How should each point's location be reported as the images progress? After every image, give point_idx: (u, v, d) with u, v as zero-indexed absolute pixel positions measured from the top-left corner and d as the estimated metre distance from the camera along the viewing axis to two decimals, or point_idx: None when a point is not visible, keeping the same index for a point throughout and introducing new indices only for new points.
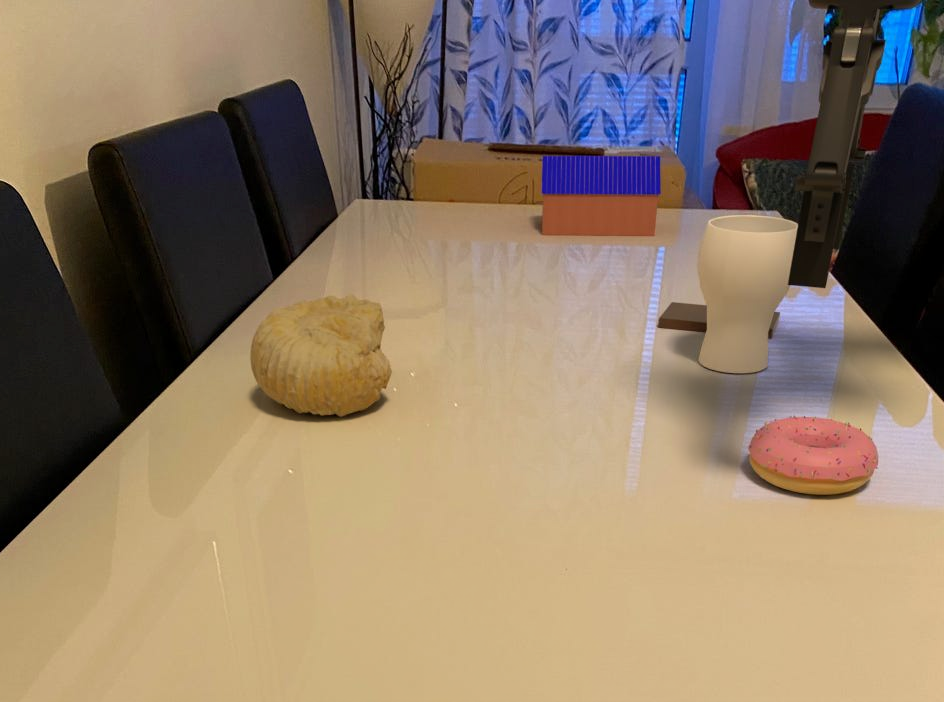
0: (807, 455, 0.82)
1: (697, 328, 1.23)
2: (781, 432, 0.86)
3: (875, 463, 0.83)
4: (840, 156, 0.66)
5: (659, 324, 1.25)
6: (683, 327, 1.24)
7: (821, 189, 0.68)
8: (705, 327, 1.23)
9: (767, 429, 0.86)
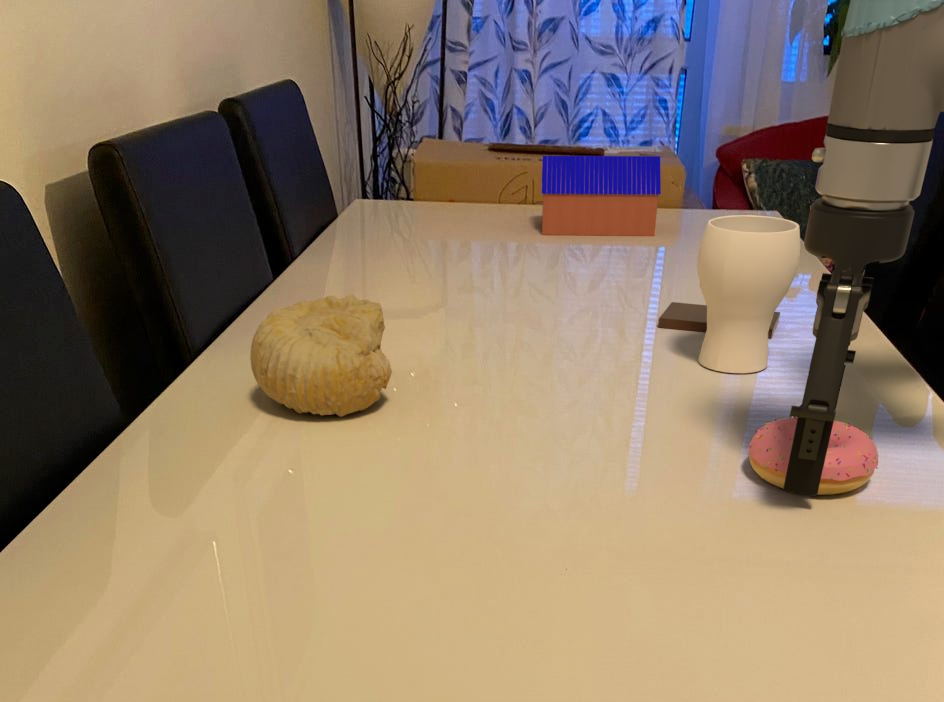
0: None
1: (697, 328, 1.23)
2: (781, 432, 0.86)
3: (875, 463, 0.83)
4: (831, 396, 0.74)
5: (659, 324, 1.25)
6: (683, 327, 1.24)
7: (814, 419, 0.76)
8: (705, 327, 1.23)
9: (767, 429, 0.86)
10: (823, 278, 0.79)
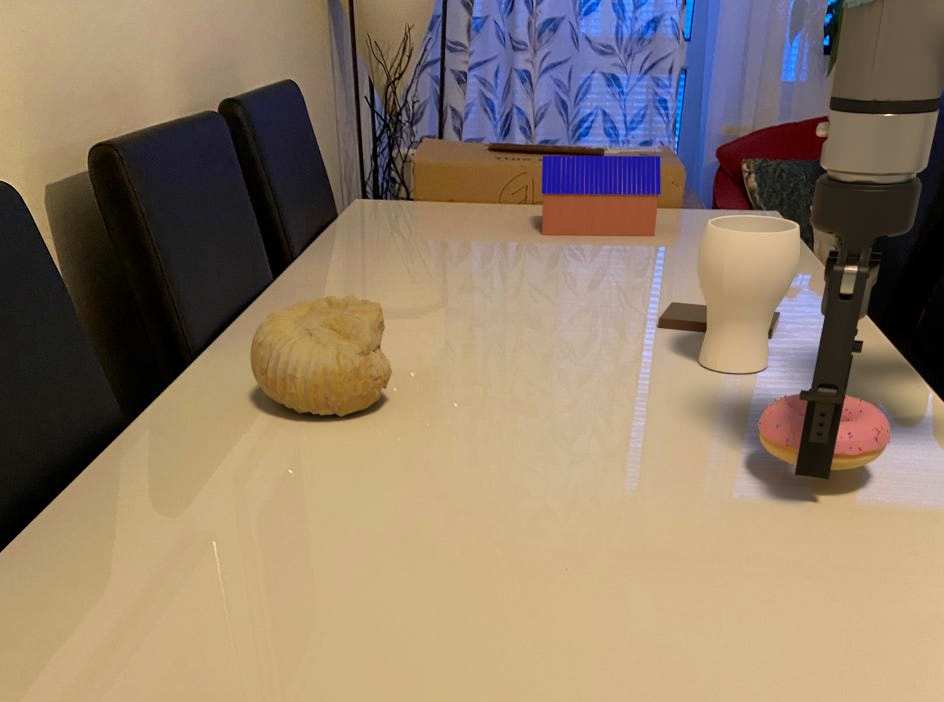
0: None
1: (697, 328, 1.23)
2: (791, 408, 0.85)
3: (887, 437, 0.82)
4: (840, 379, 0.74)
5: (659, 324, 1.25)
6: (683, 327, 1.24)
7: (823, 402, 0.76)
8: (705, 327, 1.23)
9: (777, 405, 0.85)
10: (830, 254, 0.78)
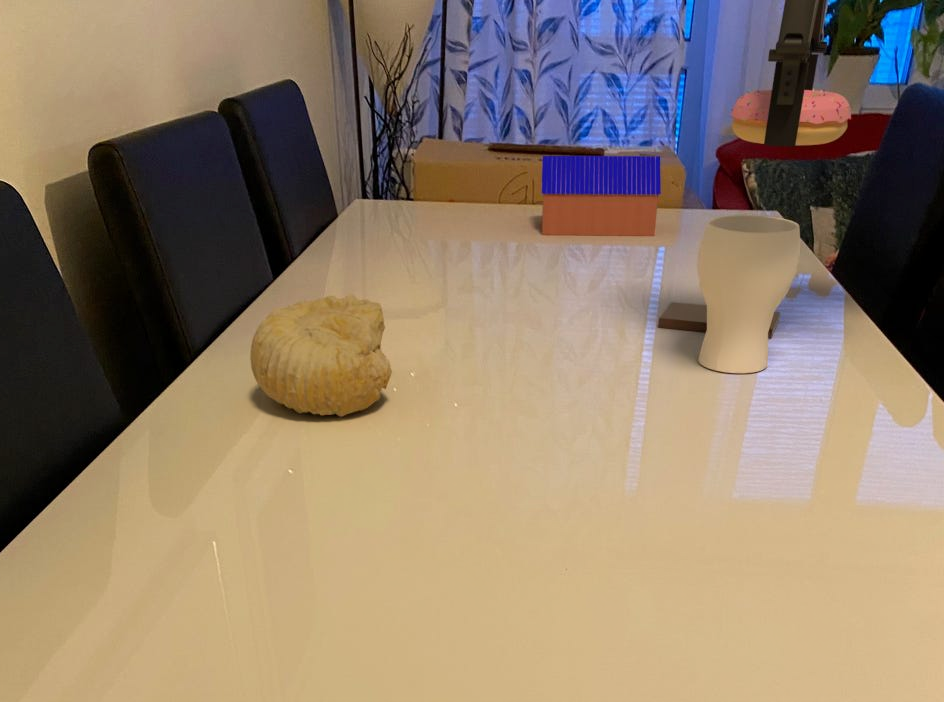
0: None
1: (697, 328, 1.23)
2: (761, 94, 0.92)
3: (848, 113, 0.90)
4: (804, 28, 0.82)
5: (659, 324, 1.25)
6: (683, 327, 1.24)
7: (790, 58, 0.84)
8: (705, 327, 1.23)
9: (748, 93, 0.93)
10: None
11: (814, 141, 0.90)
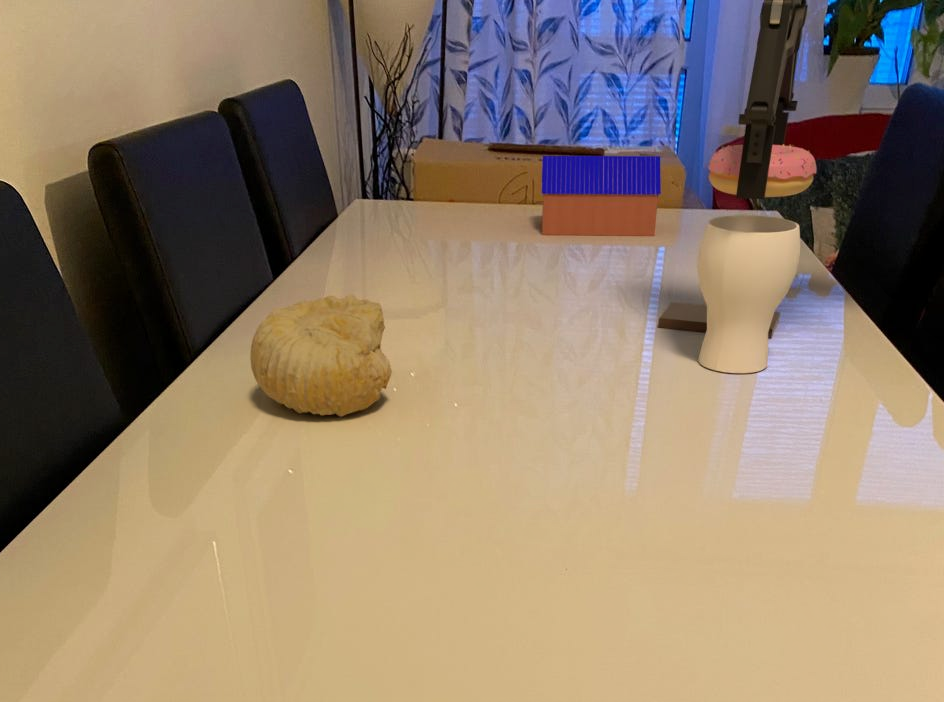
0: None
1: (697, 328, 1.23)
2: (735, 149, 1.02)
3: (813, 169, 0.99)
4: (769, 97, 0.91)
5: (659, 324, 1.25)
6: (683, 327, 1.24)
7: (757, 122, 0.93)
8: (705, 327, 1.23)
9: (723, 148, 1.02)
10: None
11: (782, 193, 0.99)
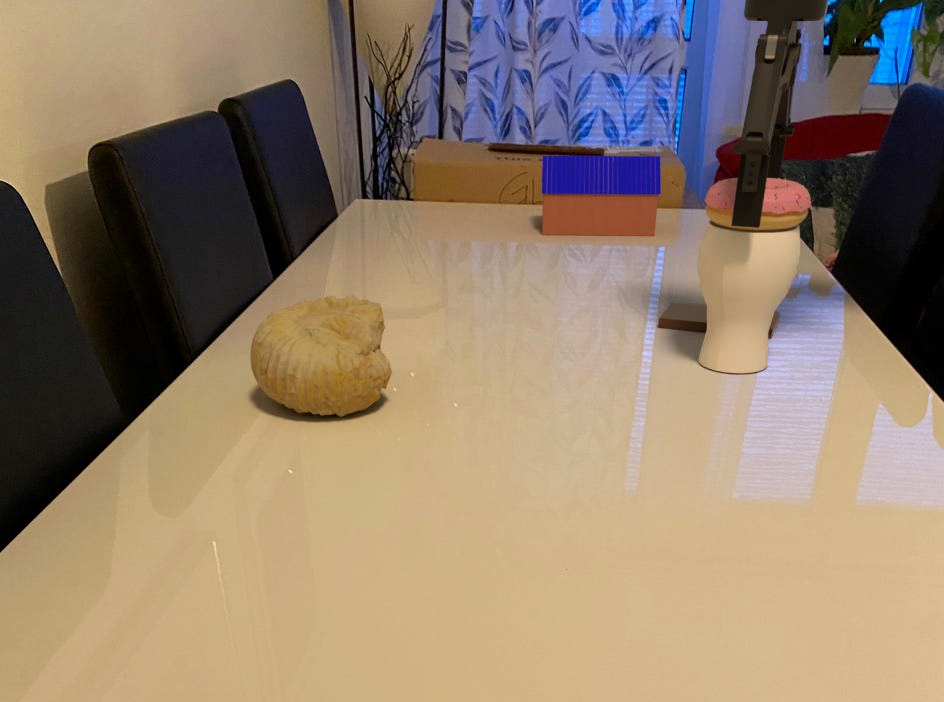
0: None
1: (697, 328, 1.23)
2: (731, 183, 1.03)
3: (807, 203, 1.01)
4: (764, 127, 0.92)
5: (659, 324, 1.25)
6: (683, 327, 1.24)
7: (752, 152, 0.94)
8: (705, 327, 1.23)
9: (719, 182, 1.04)
10: None
11: (777, 228, 1.01)
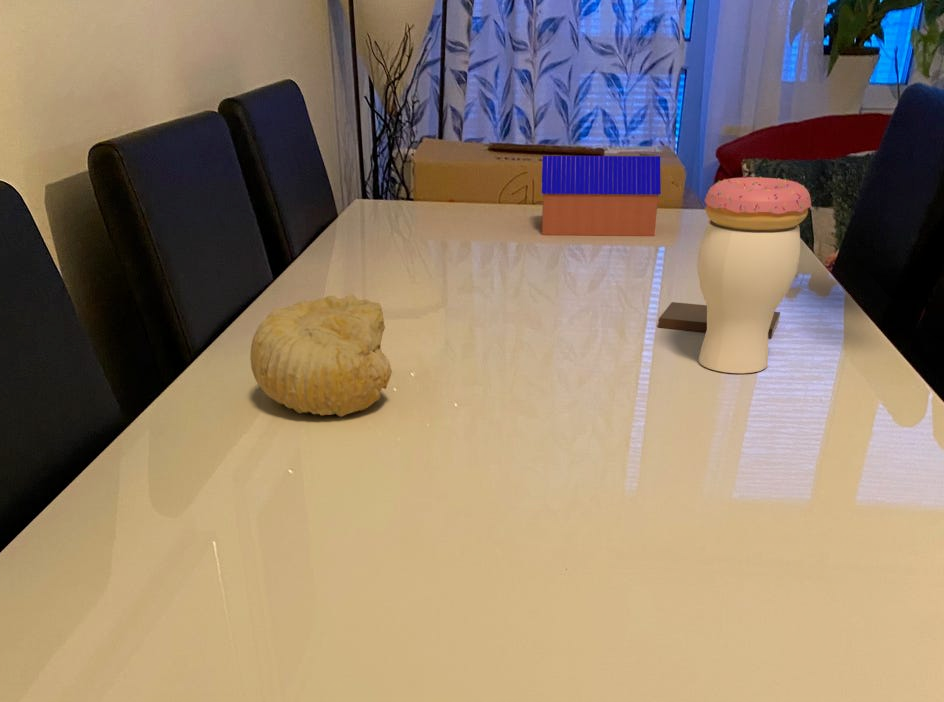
0: (750, 193, 1.00)
1: (697, 328, 1.23)
2: (731, 183, 1.03)
3: (807, 203, 1.01)
4: None
5: (659, 324, 1.25)
6: (683, 327, 1.24)
7: None
8: (705, 327, 1.23)
9: (719, 182, 1.04)
10: None
11: (777, 228, 1.01)
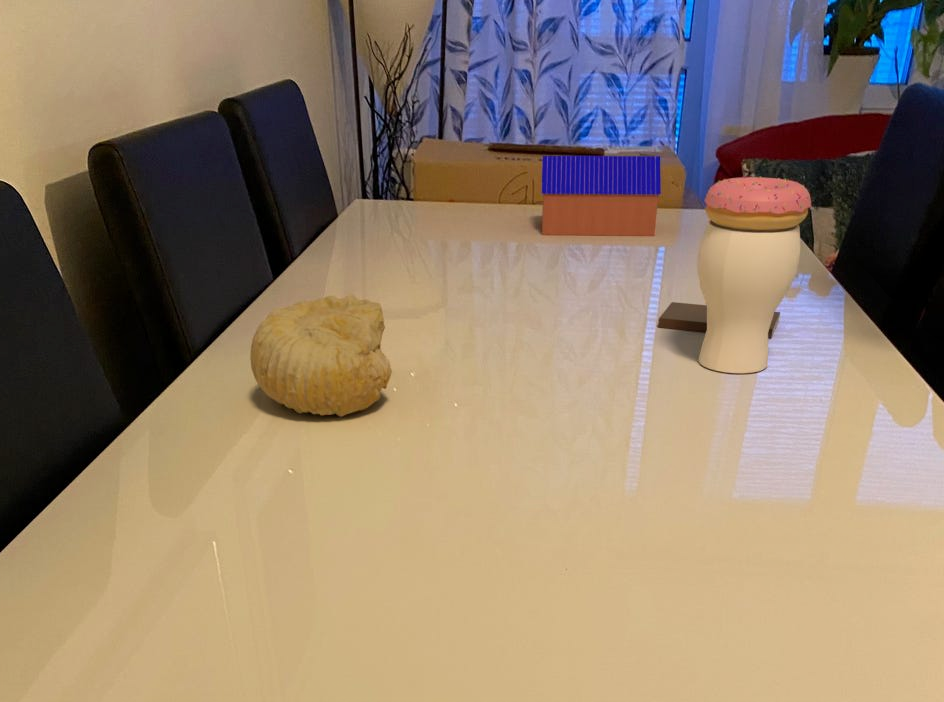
0: (750, 193, 1.00)
1: (697, 328, 1.23)
2: (731, 183, 1.03)
3: (807, 203, 1.01)
4: None
5: (659, 324, 1.25)
6: (683, 327, 1.24)
7: None
8: (705, 327, 1.23)
9: (719, 182, 1.04)
10: None
11: (777, 227, 1.01)
